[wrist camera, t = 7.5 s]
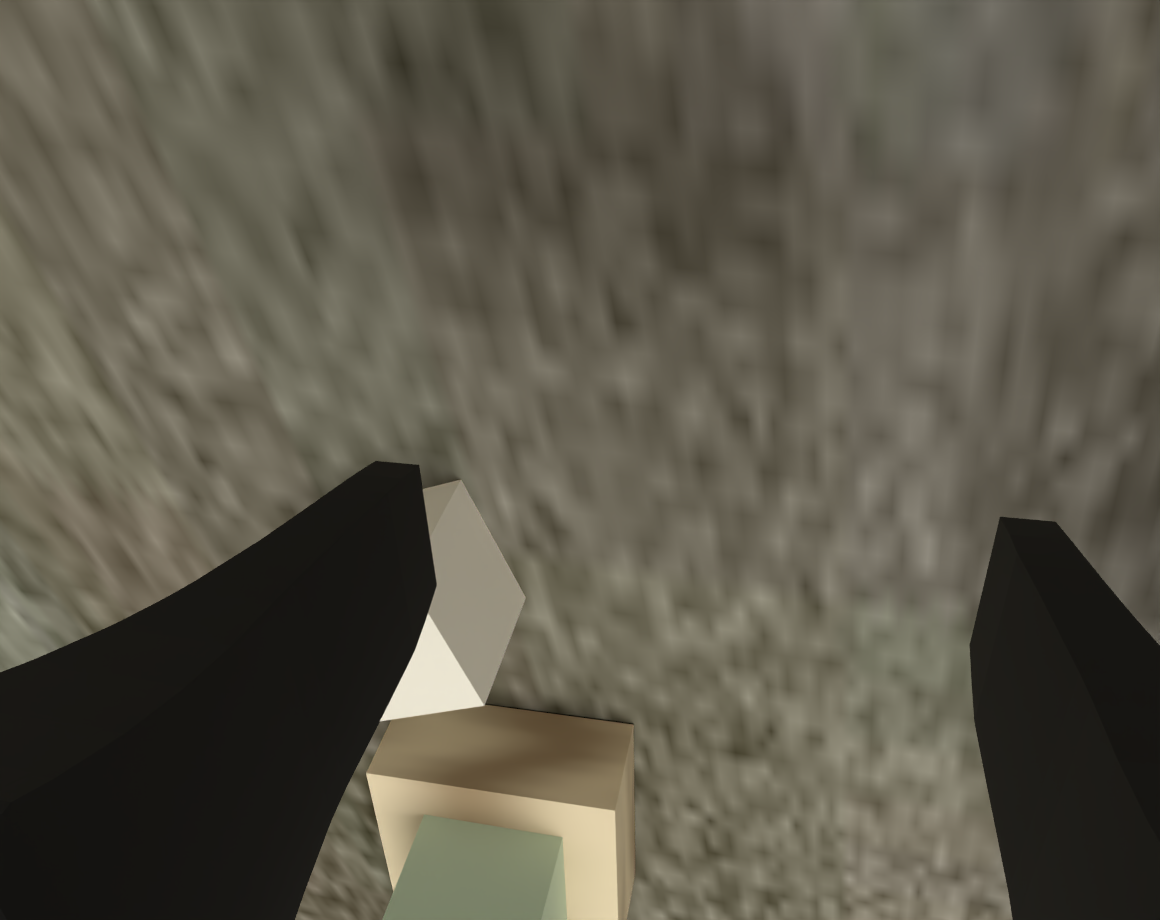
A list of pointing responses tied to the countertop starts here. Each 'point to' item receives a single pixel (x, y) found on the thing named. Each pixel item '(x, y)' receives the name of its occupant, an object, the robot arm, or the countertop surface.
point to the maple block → (517, 791)
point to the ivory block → (459, 612)
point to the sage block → (479, 874)
